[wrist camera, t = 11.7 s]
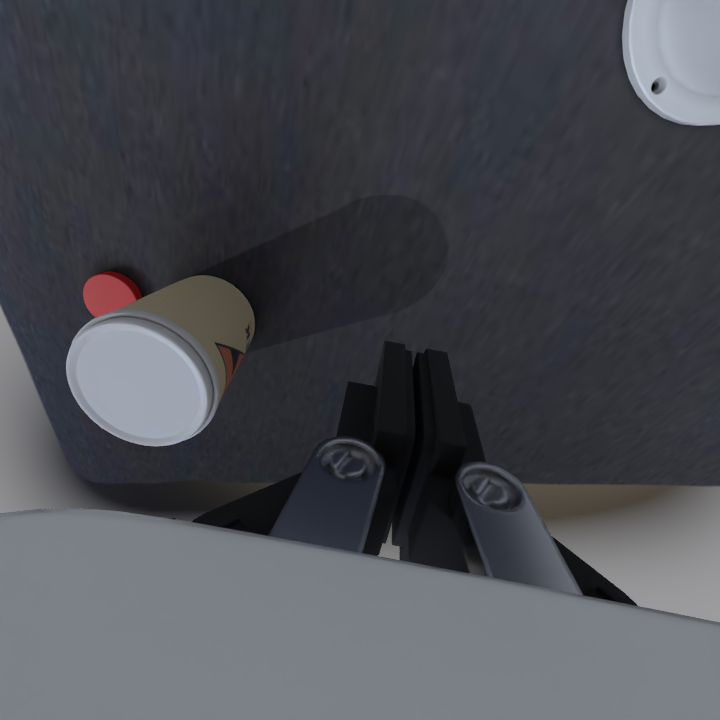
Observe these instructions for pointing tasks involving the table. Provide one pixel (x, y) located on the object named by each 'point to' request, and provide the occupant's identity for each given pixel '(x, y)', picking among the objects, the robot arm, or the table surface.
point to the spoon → (109, 292)
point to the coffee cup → (161, 360)
